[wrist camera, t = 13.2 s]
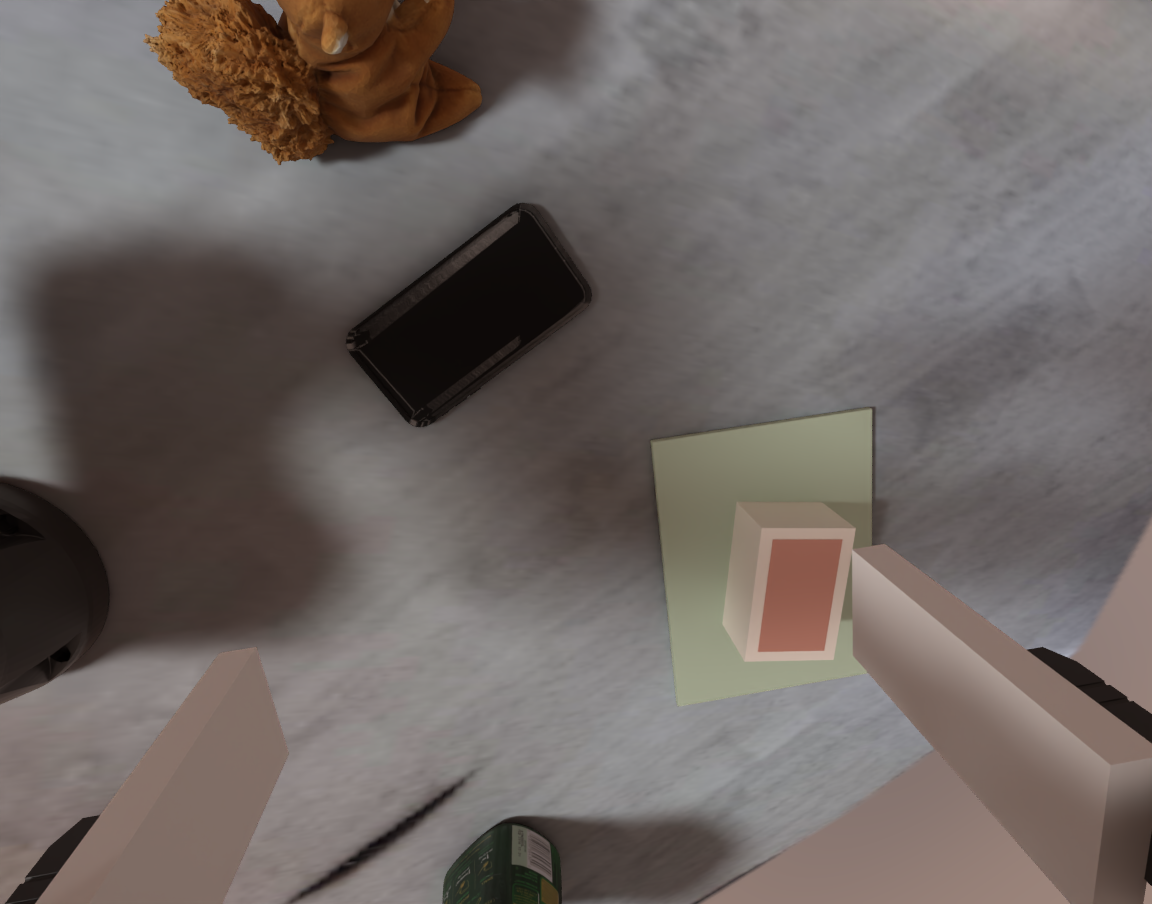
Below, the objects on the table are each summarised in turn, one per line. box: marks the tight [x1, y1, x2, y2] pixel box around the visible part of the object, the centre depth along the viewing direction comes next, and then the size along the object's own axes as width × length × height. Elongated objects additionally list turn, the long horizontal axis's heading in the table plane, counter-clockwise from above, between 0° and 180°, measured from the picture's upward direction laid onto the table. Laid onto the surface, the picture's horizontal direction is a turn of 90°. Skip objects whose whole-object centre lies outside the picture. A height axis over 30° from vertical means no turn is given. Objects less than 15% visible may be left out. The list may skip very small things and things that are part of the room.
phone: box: [346, 203, 592, 427], centre depth 43 cm, size 8×1×15 cm
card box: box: [722, 502, 856, 662], centre depth 47 cm, size 10×6×5 cm, turn 177°
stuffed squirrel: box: [143, 0, 482, 165], centre depth 33 cm, size 10×14×13 cm
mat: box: [650, 407, 872, 707], centre depth 50 cm, size 16×22×1 cm
